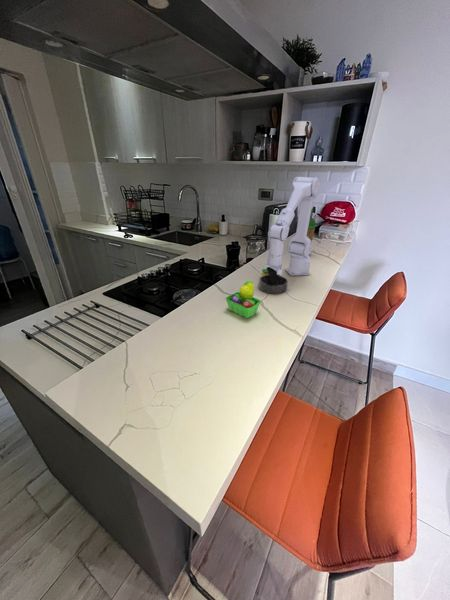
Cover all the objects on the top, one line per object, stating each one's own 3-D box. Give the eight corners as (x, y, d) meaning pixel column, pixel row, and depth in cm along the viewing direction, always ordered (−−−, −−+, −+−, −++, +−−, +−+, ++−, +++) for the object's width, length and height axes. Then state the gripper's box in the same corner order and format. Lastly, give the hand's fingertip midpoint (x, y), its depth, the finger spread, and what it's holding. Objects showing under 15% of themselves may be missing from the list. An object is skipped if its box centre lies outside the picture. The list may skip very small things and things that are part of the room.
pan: (281, 281, 120) (282, 274, 118) (290, 293, 109) (292, 285, 107) (255, 282, 118) (256, 275, 116) (263, 294, 108) (263, 286, 106)
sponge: (261, 277, 124) (262, 269, 122) (272, 277, 124) (273, 268, 122) (263, 280, 120) (264, 272, 118) (275, 280, 121) (276, 271, 119)
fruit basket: (224, 309, 96) (224, 282, 91) (239, 301, 102) (240, 275, 97) (247, 321, 90) (249, 292, 84) (262, 312, 95) (265, 284, 90)
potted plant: (312, 257, 151) (322, 207, 138) (294, 256, 151) (302, 206, 138) (307, 251, 161) (316, 204, 147) (290, 251, 161) (297, 203, 147)
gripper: (261, 249, 113) (259, 277, 119) (271, 260, 100) (268, 291, 107) (277, 248, 114) (274, 276, 120) (288, 259, 101) (284, 290, 108)
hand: (272, 283), depth 114 cm, fingers closed
